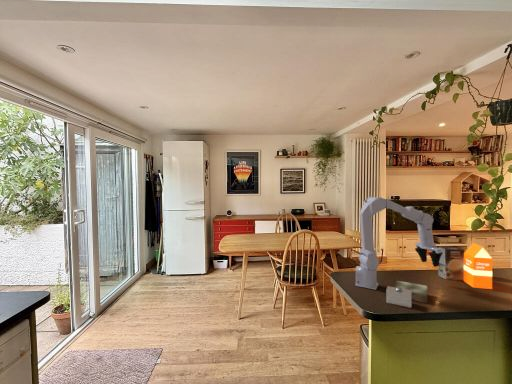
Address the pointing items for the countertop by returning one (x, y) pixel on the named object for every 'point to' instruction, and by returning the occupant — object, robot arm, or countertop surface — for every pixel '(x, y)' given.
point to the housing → (399, 296)
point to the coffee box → (451, 263)
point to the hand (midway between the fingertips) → (430, 263)
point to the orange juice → (478, 267)
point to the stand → (414, 290)
